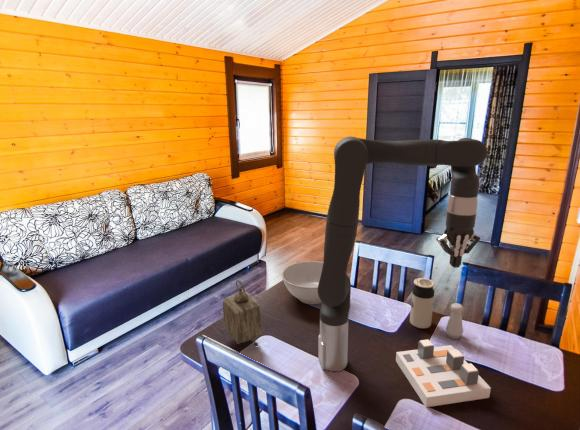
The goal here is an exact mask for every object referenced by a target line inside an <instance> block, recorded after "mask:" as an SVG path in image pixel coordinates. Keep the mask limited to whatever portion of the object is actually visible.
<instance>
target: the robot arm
mask: <svg viewBox="0 0 580 430" xmlns="http://www.w3.org/2000/svg"><path fill="white" fill-rule="evenodd" d="M488 152H489V151H488V148H487V145H486V144H485V143H484V142H482V140H481V141H480V140H478V139H475V138H470V137H463V138H459V139H458V140H444V139H408V140H407V139H406V140H377V139H376V140H375V139H368V138H367V139H366V138H360V137H356V136H346V137H343V138H342V139H340V140H338V142H337V143H336V145H335V146H334V151H333V159H334V182H333V183H334V184H333V191H332V196H331V198H330V202H329V206H328V209H327V214H326V222H325V228H324V229H325V230H324V231H325V232H324V234H325V235H324V244H323V245H324V246H323V260H322V262H323V267H322V272H321V277H320V281H319V285H318V296H319V298H320V300H321V301H322V302H321V306H320V309H319V334H318V337H317V339H318V342H317V343H318V346H317V348H318V351H317V352H318V353H317V354H318V355H317V356H318V361H320V362H319V364H320V367H321V370H322V369H323V370H322V371H328V370H330V371H329V372H332V371H337V372H341V371H343V370H345V369H346V367H347V366H348V350H349V349H348V347H349V344H348V343H349V314H350V309H351V294H352V293H351V289H352V286H351V284H352V283H351V280H350V279H351V278H350V277H349V275H348V274H347V273H348V272H347V271H348V265H349V262H350V258H351V256H352V253H353V249H354V245H355V242H356V239H357V234H358V233H357V232H358V226H359V219H360V218H359V217H360V206H361V205H360V204H361V203H360V202H361V200H360V199H361V198H360V197H361V190H362V189H361V188H362V184H363V180H364V179H363V178H364V175H365V171H366V167H367V165H369V164H370V165H371V164H382V163H383V164H396V165H405V166H416V167H418V166H422V167H425V166H427V167H428V166H449V167H450V175H451V181H450V182H451V183H450V189H449V196H448V201H447V208H446V217H445V218H446V219H445V227H446V228H445V230H444V233H443V235H442V236H437V237H436V238H435V240H436V241H437V242H438V244H439V246H440V247H441V248H442V250H443V251H444V253H446V254H448V255H449V265H450V266H451V267H452V268H454V269H455V268H456V269H457V268H460V266H461V265H462V260H463V256H464V255H465V254H469V253H470V252H471V251H472V250H474V247H475V246H476V245H477V244H478V243H479V242H480V241H481V236H478V235H477V234H475V231H474V228H475V224H476V218H477V210H478V194H479V188H480V187H479V186H480V178H479V176H478V174H477V171H476V168H477V166H479V165H480V164H482V163H483V162H484V161H485V160H486V159H487V157H488ZM447 243H448V244H447ZM324 369H326V370H324Z"/></svg>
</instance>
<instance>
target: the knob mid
mask: <svg viewBox="0 0 580 430" xmlns="http://www.w3.org/2000/svg"><path fill="white" fill-rule="evenodd" d="M464 359H465V356H464V355H463V354H462V353H461V352H460V351H459V350H458V349H455V350H451V351H447V358H446V363H447V364H448V366H449V367H450V368H451V369H452V370H457V369H460V367H461V365H463V363H464Z"/></svg>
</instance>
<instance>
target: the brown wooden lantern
mask: <svg viewBox="0 0 580 430" xmlns="http://www.w3.org/2000/svg"><path fill="white" fill-rule="evenodd" d="M238 283H239V284H240V285H241V287H239V285H238ZM235 286H236V289H237V290H238V291H237V292H236V293H235V294H233V295H230V296H226V298H224V299H223V302H222V309H223V319H224V320H223V321H224V327H225V329H226V330H227V332H228V333H229V335H230V337H231V338H232V339H233V340H234V341H235V343H236V345H240V344H241V343H242V344H244V343H246V342H248V341H251V342H253V347H254V346H258V347H259V343H258V342H256V341H255V339H256V338H259V337H261V336H262V334H263V333H262V332H263V331H262V330H263V327H262V326H263V325H262V324H263V323H262V322H263V321H262V312H261V308H260V305H259V303H258V301H257V300H256V299H255V298H254V297H253V296H252V295H251V294H250V293H249V292H247V291H245V290H246V289H245V285H244V284H243V283H242V281H241V280H239V279H236V280H235Z"/></svg>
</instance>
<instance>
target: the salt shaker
mask: <svg viewBox="0 0 580 430" xmlns="http://www.w3.org/2000/svg"><path fill="white" fill-rule="evenodd" d="M464 308H465V307H464V306H463V305H462V304H461V303H457V302H455V303H454V302H453V303H451V305H450V311H451V313H450V316H449V319H448V322H447V324H446V327H445V332H446V334H447V337H449V339H453V340H458V339H459V338H460V337H462V335H463V334H464V326H463V316H462V314H463V312H464Z"/></svg>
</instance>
